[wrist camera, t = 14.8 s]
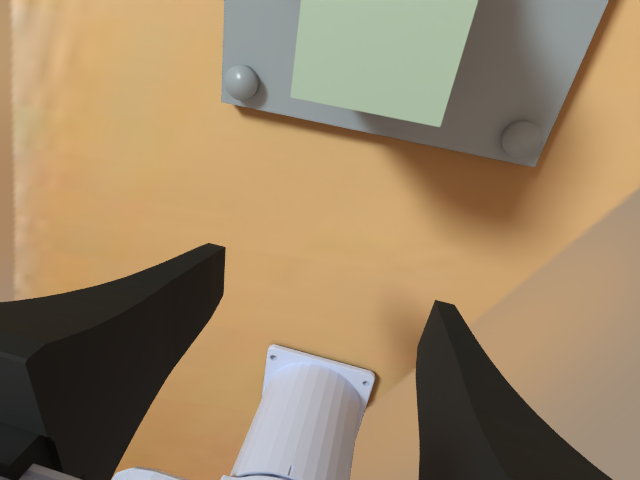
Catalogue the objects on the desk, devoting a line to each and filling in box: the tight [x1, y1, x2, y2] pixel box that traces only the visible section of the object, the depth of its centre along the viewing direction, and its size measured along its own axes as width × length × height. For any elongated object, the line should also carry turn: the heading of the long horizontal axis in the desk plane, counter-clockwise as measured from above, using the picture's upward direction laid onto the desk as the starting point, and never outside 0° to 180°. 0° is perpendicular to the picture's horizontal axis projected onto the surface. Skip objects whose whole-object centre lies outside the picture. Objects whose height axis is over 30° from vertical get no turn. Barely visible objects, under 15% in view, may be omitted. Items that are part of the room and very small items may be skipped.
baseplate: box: [221, 0, 609, 168], centre depth 17 cm, size 11×16×2 cm
